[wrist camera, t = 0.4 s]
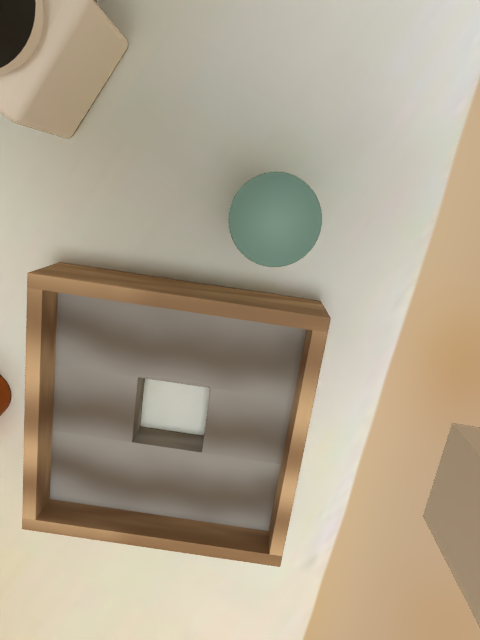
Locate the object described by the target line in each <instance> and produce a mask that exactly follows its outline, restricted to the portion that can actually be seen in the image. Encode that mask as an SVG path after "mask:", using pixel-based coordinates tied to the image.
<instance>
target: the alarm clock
mask: <svg viewBox="0 0 480 640" xmlns="http://www.w3.org/2000/svg"><path fill="white" fill-rule="evenodd" d="M10 399H11V392H10V389H9V386H8V384H7V383H6V381H5V380H4V379H3V378H2V377H1V376H0V415H1V414H2V413H3V412H4V411H5V410H6V409H7V407H8V406H9V403H10Z"/></svg>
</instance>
